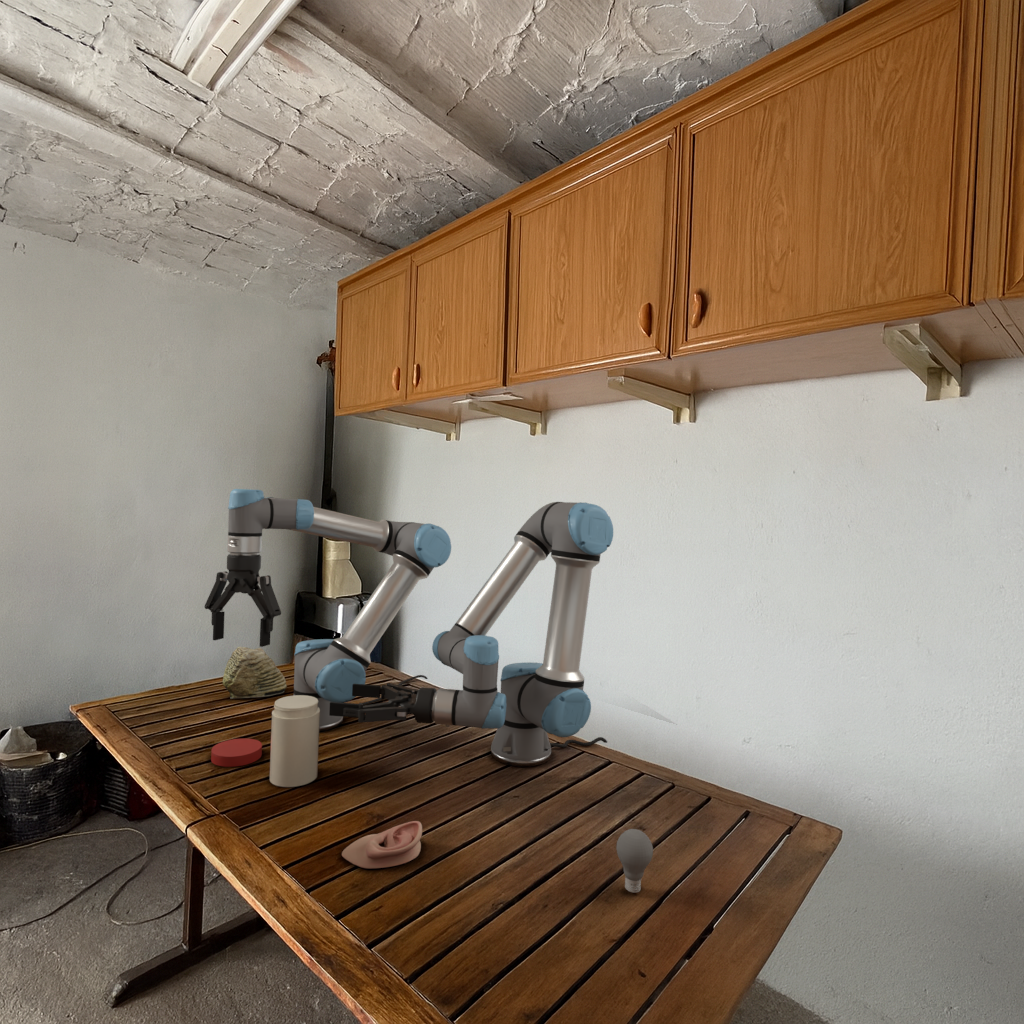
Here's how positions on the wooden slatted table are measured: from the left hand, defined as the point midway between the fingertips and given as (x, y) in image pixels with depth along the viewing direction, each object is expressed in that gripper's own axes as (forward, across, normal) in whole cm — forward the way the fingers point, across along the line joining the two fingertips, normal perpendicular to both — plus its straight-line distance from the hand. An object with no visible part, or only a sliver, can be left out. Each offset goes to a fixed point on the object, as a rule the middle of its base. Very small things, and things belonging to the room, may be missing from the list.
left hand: (241, 642), depth 151 cm
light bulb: (+28, +96, -17) cm, 102 cm away
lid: (+26, 0, 0) cm, 26 cm away
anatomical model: (+28, +52, -23) cm, 63 cm away
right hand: (+9, +29, -1) cm, 30 cm away
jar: (+28, +19, -4) cm, 34 cm away
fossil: (+28, -28, +40) cm, 56 cm away
